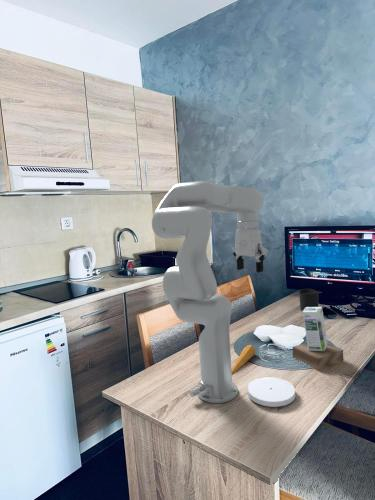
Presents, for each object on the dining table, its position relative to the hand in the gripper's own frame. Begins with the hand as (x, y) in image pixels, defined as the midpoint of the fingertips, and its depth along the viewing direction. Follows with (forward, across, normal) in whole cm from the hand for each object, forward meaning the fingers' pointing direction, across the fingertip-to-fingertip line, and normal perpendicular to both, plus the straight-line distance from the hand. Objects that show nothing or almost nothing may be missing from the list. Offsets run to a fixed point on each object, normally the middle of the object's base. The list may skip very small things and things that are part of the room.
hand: (249, 270), depth 133 cm
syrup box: (+28, +22, +10) cm, 36 cm away
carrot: (+33, +4, -11) cm, 35 cm away
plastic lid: (+33, +24, -20) cm, 45 cm away
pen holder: (+32, -13, +57) cm, 66 cm away
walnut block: (+33, +21, +10) cm, 40 cm away
